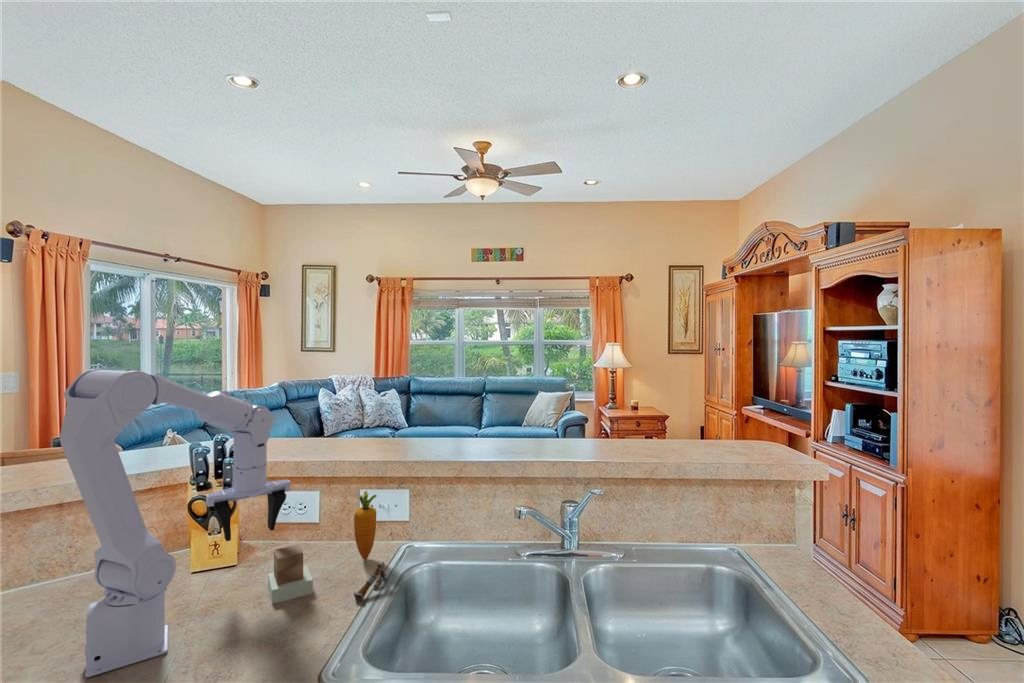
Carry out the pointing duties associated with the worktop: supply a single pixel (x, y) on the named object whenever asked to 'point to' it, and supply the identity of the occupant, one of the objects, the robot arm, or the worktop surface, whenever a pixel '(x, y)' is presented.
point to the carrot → (365, 526)
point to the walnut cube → (288, 564)
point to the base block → (290, 587)
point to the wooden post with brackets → (369, 582)
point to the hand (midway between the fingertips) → (249, 533)
